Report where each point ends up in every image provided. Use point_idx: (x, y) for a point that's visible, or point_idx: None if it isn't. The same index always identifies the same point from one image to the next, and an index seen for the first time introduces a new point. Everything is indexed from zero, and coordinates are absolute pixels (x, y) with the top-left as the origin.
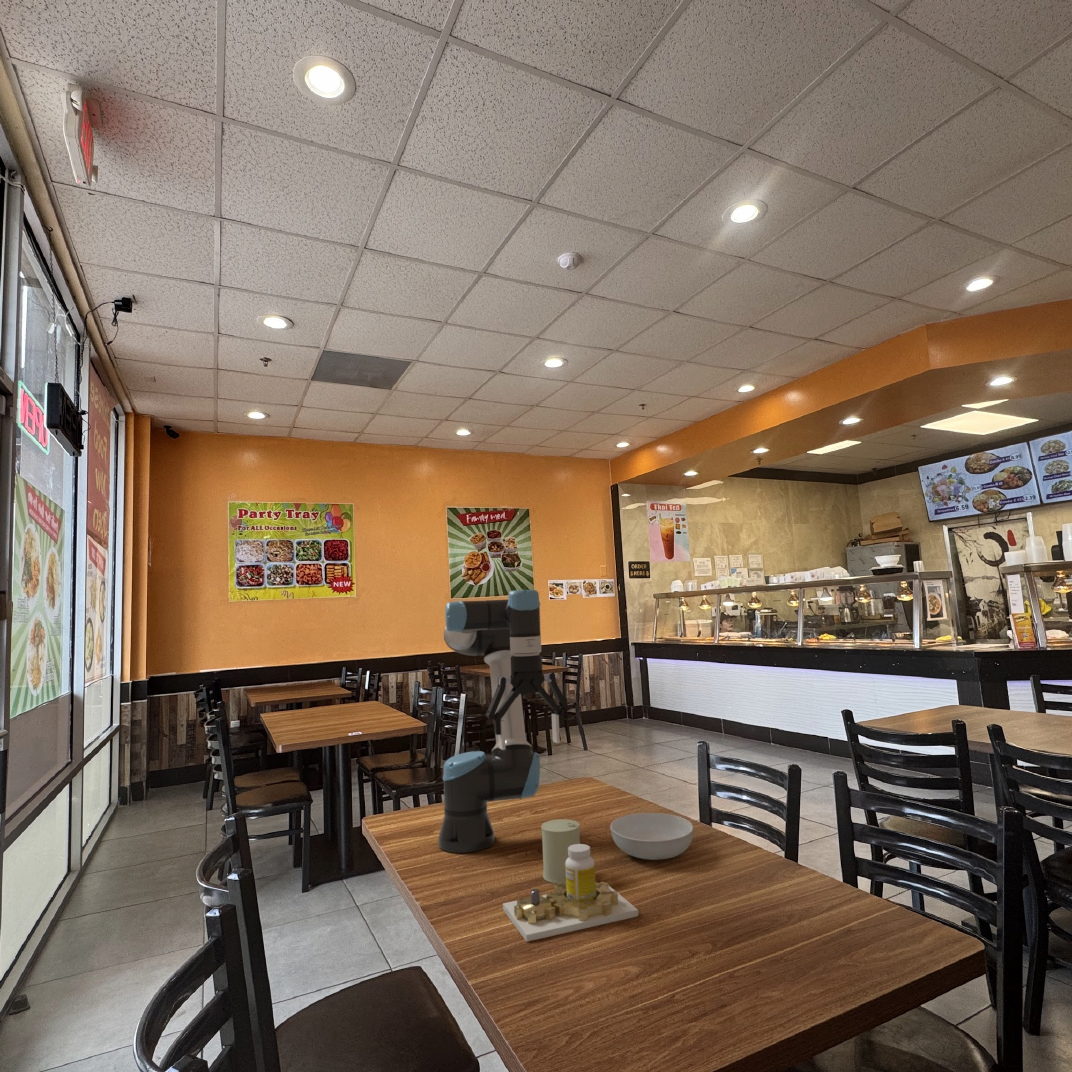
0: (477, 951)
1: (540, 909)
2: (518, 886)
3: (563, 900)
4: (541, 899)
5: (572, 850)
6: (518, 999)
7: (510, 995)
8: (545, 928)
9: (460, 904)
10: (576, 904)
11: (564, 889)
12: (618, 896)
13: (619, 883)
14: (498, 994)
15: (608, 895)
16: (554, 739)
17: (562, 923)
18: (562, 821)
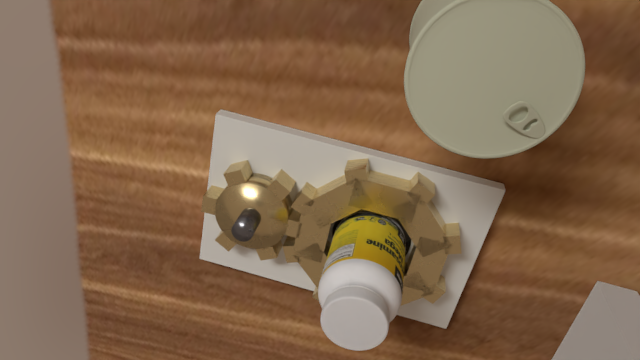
0: (113, 220)
1: (245, 245)
2: (320, 12)
3: (311, 247)
4: (272, 211)
5: (324, 326)
6: (129, 352)
7: (122, 340)
8: (242, 263)
9: (138, 10)
10: None
11: (350, 206)
12: (465, 264)
13: (557, 186)
14: (108, 328)
15: (412, 294)
16: (577, 351)
17: (281, 271)
18: (540, 38)
